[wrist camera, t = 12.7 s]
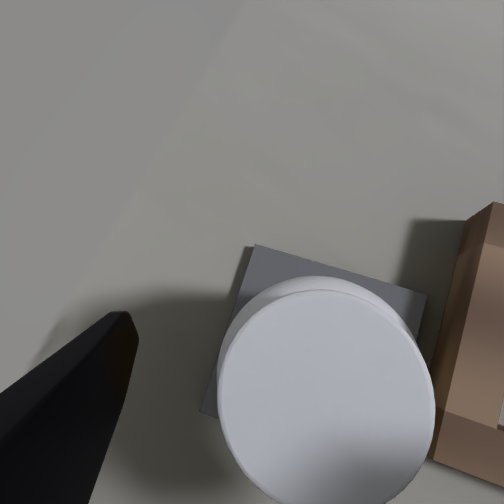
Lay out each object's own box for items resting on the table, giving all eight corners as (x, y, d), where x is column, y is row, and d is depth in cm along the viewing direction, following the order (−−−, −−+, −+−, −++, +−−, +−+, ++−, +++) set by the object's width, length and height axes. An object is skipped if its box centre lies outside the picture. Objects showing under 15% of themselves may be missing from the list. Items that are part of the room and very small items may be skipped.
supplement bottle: (237, 399, 16) (140, 498, 7) (270, 282, 17) (225, 224, 8) (359, 442, 15) (448, 630, 6) (388, 315, 16) (507, 295, 6)
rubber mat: (377, 478, 15) (379, 484, 15) (203, 408, 17) (199, 410, 16) (423, 296, 16) (427, 294, 16) (256, 246, 18) (255, 243, 17)
